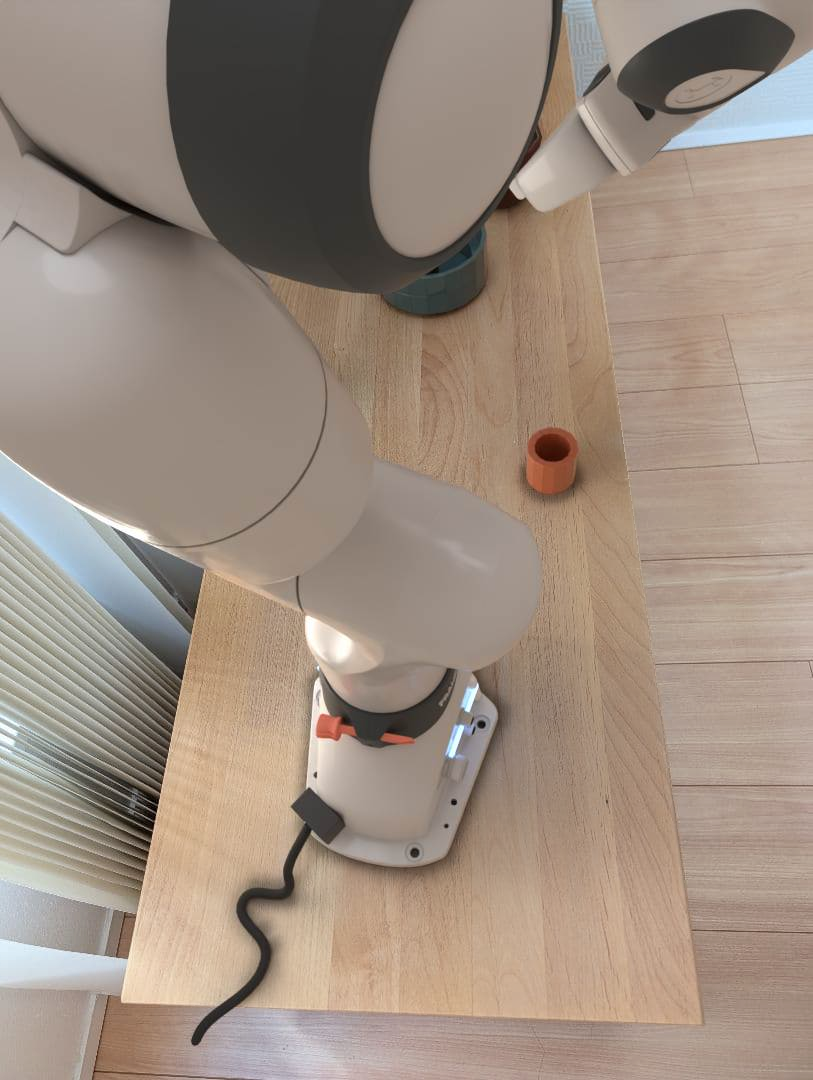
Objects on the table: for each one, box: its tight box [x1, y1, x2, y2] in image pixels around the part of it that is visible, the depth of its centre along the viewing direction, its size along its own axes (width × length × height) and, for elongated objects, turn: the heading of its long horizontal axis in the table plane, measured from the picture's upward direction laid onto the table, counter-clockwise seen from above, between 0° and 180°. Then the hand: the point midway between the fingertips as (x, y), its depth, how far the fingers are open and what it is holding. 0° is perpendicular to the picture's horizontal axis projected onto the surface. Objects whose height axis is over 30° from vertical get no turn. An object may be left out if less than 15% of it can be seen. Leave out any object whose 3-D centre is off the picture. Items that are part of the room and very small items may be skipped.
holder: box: [525, 426, 579, 495], centre depth 87 cm, size 5×6×6 cm
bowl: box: [381, 223, 489, 315], centre depth 105 cm, size 15×15×7 cm
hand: (542, 157), depth 70 cm, fingers open, 8 cm apart
